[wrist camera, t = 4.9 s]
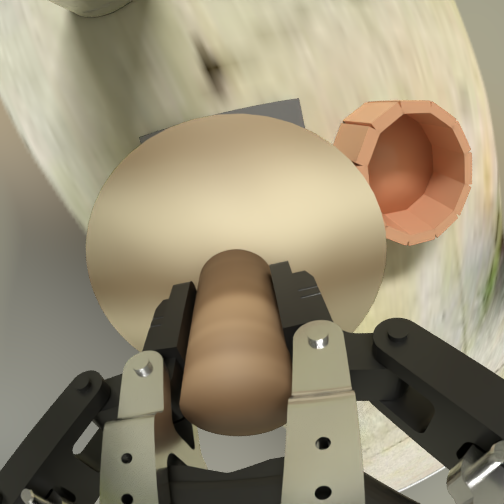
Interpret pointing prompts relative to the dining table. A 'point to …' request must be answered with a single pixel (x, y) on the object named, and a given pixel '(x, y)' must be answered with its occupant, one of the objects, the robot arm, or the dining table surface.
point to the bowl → (410, 165)
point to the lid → (234, 253)
